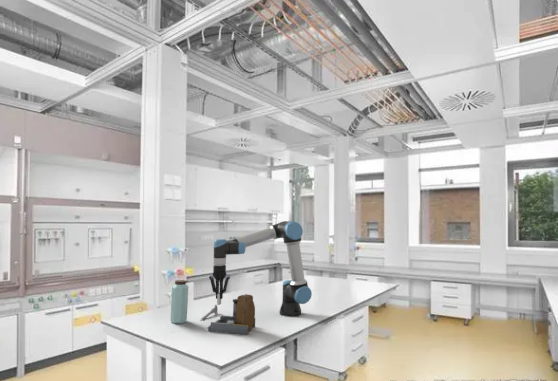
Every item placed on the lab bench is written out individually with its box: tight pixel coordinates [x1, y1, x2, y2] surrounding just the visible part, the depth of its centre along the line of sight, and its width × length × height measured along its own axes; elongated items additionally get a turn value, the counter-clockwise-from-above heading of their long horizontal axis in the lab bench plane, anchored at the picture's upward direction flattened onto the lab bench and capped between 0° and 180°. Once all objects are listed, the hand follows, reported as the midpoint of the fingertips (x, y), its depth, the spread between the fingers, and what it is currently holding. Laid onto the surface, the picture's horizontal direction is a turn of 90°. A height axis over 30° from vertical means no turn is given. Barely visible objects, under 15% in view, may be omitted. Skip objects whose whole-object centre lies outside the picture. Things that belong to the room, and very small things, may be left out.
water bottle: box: [170, 279, 189, 325], centre depth 227 cm, size 10×10×25 cm
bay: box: [207, 314, 256, 336], centre depth 215 cm, size 23×16×5 cm
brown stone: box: [235, 293, 256, 332], centre depth 214 cm, size 11×8×20 cm
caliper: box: [200, 304, 219, 321], centre depth 240 cm, size 20×1×6 cm, turn 161°
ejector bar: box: [227, 298, 238, 324], centre depth 215 cm, size 4×18×17 cm, turn 168°
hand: (219, 304), depth 220 cm, fingers closed
